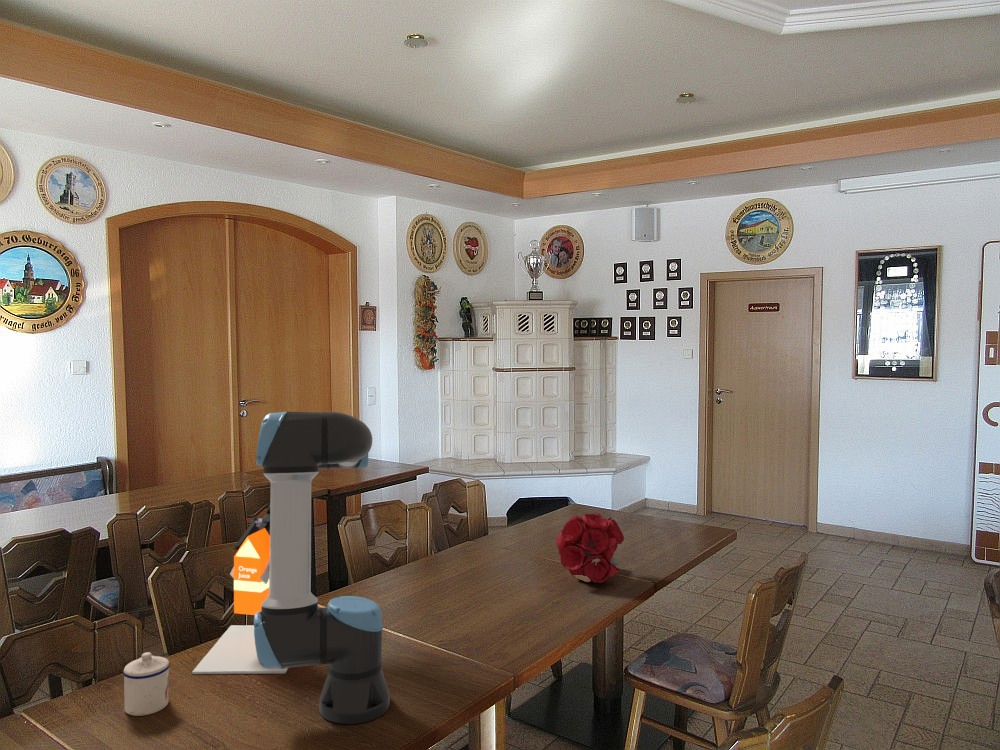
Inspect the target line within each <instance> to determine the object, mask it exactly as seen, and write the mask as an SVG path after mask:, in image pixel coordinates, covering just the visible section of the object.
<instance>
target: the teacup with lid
mask: <svg viewBox="0 0 1000 750" xmlns="http://www.w3.org/2000/svg"><path fill="white" fill-rule="evenodd" d="M170 666H171V664H170V661H169V660H168V658H166V657H165V656H159V655H157V656H156V655H153V654H152V653H151V651H150V652H149V651H147V652H143V653H142V654H141V657H138V659H135V660H132V661H131V662H128V663H127V664H126V665H125V667H124V669H123V671H122V675H123V676H124V678H123V679H124V681H123V683H124V684H123V686H124V687H123V688H124V691H123V692H124V693H123V694H124V695H123V696H124V697H123V698H124V712H125V713H126V714H127V715H130V716H135V717H139V716H140V717H141V716H148V715H151V714H155V713H158V712H160V711H161V710H163V709H165V707H167V706H168V704H169V701H170V692H169V690H170V689H169V685H170V684H169V683H170V682H169V679H170V678H169V677H170V676H169V675H170V673H169V668H170Z"/></svg>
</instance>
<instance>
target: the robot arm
mask: <svg viewBox="0 0 1000 750" xmlns="http://www.w3.org/2000/svg"><path fill="white" fill-rule="evenodd" d="M259 429H260V430H259V433H258V435H259V436H258V439H257V440H258V441H257V447H256V459H255V463H256V465H257V466H258V467H261V468H262V467H263V472H262V473H263V474H262V475H264V477H265V478H266V479H267V480H268V481H269V483H270V494H269V495H270V499H269V500H270V502H269V505H268V507H267V510H266V515H264V516H263V518H258V517H257V516H254V517H252V519H251V521H250V524H249V526H248V527H247V529H246V530H245V532H243V534H242V535H241V537H240V538H239V539H238V541H237V542H236V544H235V545H234V549H235V550H236V551H238V550H239V548H240V547H241V545H242V544H243V542H244V541H245V539H246V538H247V536H249V535H251V534H253V533H256V532H258V531H260V530H262V529H264V528H265V529H266V531H267V532H268V534H269V536H270V558H269V560H268V562H267V564H266V566H265V568H264V570H263V572H262V575H261V576H260V578H259V579H260V580H261V581H262V582H263V583H264V584H267V582H268V580H269V596H268V597H267V598H266V599H265V600H264V601H263V602H262V608H261V611H258V612H257V613H255V615H253V625H254V638H255V646H256V653H257V658H258V661H259V663H260V665H261V666H262V667H263V668H266V669H274V668H280V669H284V668H288V669H290V668H297V667H298V668H300V667H310V666H320V665H322V666H323V665H327V674H326V678H325V681H324V684H323V687H322V691H321V693H320V697H319V704H318V705H319V706H318V709H319V714H320V716H321V717H323V718H324V719H325V720H327V721H330V722H332V723H336V724H340V725H354V724H355V725H356V724H362V723H366V722H367V723H368V722H370V721H373V720H376V719H378V718H380V717H382V715H384V714H385V713H387V711H388V710H389V708H390V706H391V705H390V703H391V700H390V699H391V696H390V695H391V694H390V689H389V688H388V684H387V681H386V678H385V676H384V675H385V674H384V672H383V630H384V623H383V612H382V609H381V606H380V605H379V604H378V603H377V602H375V601H373V600H371V599H369V598H366V597H362V596H357V595H356V596H354V595H341V596H339V597H333V598H331V599H330V600H329V601H328V602H327V603H328V604H327V606H326V607H325V606H324V607H319V606H318V605H319V604H318V603H319V599H318V597H317V596H315V595H314V594H313V593H312V592H311V588H312V587H311V585H312V584H311V580H312V579H311V577H312V576H311V575H312V569H311V568H312V563H311V562H312V483H313V480H314V479H315V477H317V475H318V474H319V470H332V469H333V470H336V469H337V470H338V469H342V470H343V469H344V470H345V469H346V470H347V469H349V470H351V469H352V470H353V469H354V470H357V469H365V468H367V467H368V466H369V453H370V451H371V448H372V446H373V434H372V432H371V430H370V428H369V427H368V426H367V424H366V423H365V422H363V421H362V420H361V419H358V418H356V417H355V416H352V415H349V414H347V413H343V412H338V411H326V412H325V411H282V412H281V411H279V412H270V413H267V414H266V415H265V416H264V417H263V419H262V421H261V426H260V428H259ZM229 575H230V576H231V577H232V578H233V579H234V566H233V567H232V569H231V571H230V572H229Z"/></svg>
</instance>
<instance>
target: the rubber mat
mask: <svg viewBox="0 0 1000 750" xmlns="http://www.w3.org/2000/svg"><path fill="white" fill-rule="evenodd" d="M288 670H289V668H284V669H280V668H274V669H266V668H263V667H262V666H261V665H260V663H259V661H258V658H257V653H256V646H255V638H254V624H252V625H251V624H250V625H245V624H244V625H242V624H241V625H236V624H235V625H232V624H231V625H230V626H229V627H228V628H227V630H226V631H225V632H224V633H223V634H222V635H221V636H220V637H219V639H218V640H217V642H215V644H214V645H213V646H212V647H211V648H210V650H209V651H208V652H207V654H205V656H204V657H203V658H202V659H201V660H200V662H199V663H198V664H197V665H196V666H195V668H194V669H193V670H192V672H191V674H192V675H229V674H230V675H233V674H234V675H236V674H237V675H242V674H243V675H244V674H245V675H246V674H247V675H249V674H250V675H251V674H253V675H254V674H255V675H259V674H260V675H261V674H264V675H265V674H267V675H269V674H281V675H282V674H286V673H287V672H288Z"/></svg>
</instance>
